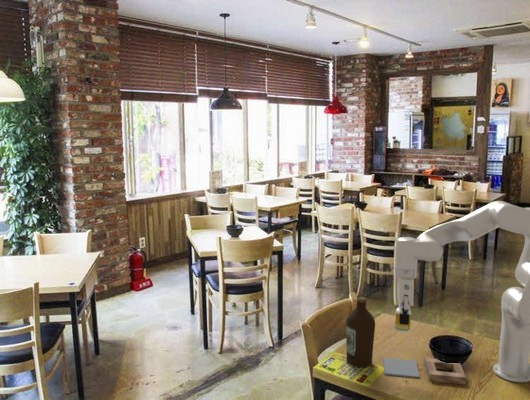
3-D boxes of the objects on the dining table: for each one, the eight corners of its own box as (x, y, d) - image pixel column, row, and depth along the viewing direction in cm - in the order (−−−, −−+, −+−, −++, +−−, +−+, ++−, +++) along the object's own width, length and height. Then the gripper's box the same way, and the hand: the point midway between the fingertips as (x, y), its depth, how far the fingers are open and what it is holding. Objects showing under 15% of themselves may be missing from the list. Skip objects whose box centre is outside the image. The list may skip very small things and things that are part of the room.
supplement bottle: (410, 333, 166) (413, 307, 165) (394, 331, 167) (397, 305, 166) (408, 327, 172) (411, 302, 170) (393, 325, 173) (396, 300, 171)
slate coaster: (415, 362, 176) (415, 360, 176) (419, 378, 165) (419, 376, 165) (383, 358, 179) (383, 357, 179) (384, 374, 167) (384, 373, 167)
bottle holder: (458, 367, 173) (459, 360, 172) (465, 384, 161) (466, 377, 161) (424, 364, 175) (424, 357, 174) (429, 380, 163) (429, 374, 163)
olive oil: (364, 353, 183) (367, 291, 179) (379, 366, 173) (381, 301, 169) (340, 357, 180) (341, 294, 176) (353, 370, 170) (355, 304, 166)
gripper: (419, 280, 157) (416, 331, 160) (413, 266, 174) (411, 312, 177) (396, 278, 159) (394, 329, 161) (392, 264, 175) (390, 311, 178)
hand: (403, 320), depth 169 cm, fingers closed on supplement bottle, 5 cm apart
